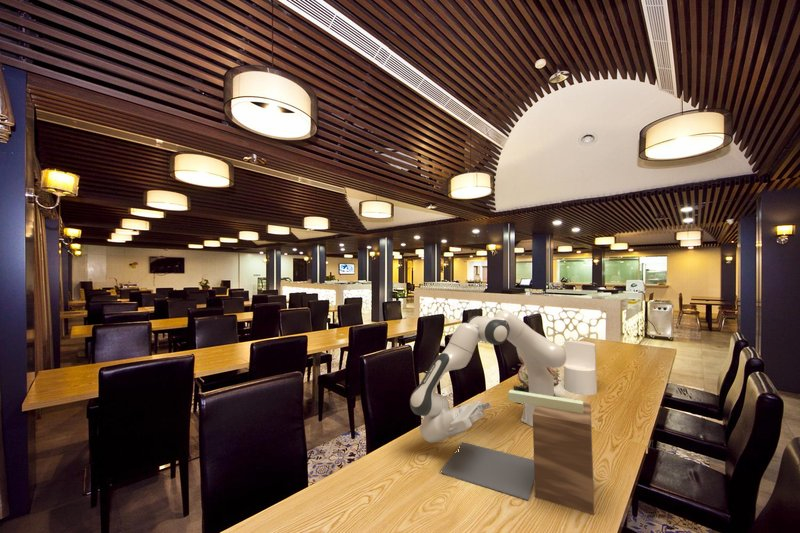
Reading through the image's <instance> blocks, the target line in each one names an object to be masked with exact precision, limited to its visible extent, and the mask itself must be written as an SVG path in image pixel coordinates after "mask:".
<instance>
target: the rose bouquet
mask: <svg viewBox="0 0 800 533" xmlns="http://www.w3.org/2000/svg"><path fill="white" fill-rule="evenodd" d="M517 357H518V360H519V362H520V363H519V364H517V365H518V366H520V368H519V370H518V372H517V380H518V381H519V382H520V383H521V384H519V385H513V389H514V390H515V391H522V392H528V391H529V383H528V374H527V370H526V367H525V364H524V362H523V360H522V358H521V357H520V356H519V354H518V353H517ZM546 368H547V370H548V371H549V372H550V373H551V375H552V376H553V379H554V388H556V387H557V386H558V385H559V383H560V382H561V380H560V379H559V378H561V376H560V375H561V374H560V373H559V372H560V370H559V369H558V368H556V367H547V366H546ZM511 369H512V370H516V368H515V367H512V368H511ZM516 403H518V402H516ZM518 404H519V403H518Z"/></svg>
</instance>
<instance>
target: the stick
mask: <svg viewBox="0 0 800 533" xmlns="http://www.w3.org/2000/svg"><path fill="white" fill-rule="evenodd" d="M507 393H508V402H513V403H517V402H518V404H519V403H523V404H529V405H535V406H541V407H547V408H552V409H558V410H564V411H570V412H575V413H581V414H583V411H584V410H583V403H584V401H583V400H579V399H578V400H577V399H572V398H567V397H559V396H555V397H554V396H547V395H541V394H534V393H528V392H522V391H515V390H513V389H509V391H508V392H507ZM523 404H522V405H523Z"/></svg>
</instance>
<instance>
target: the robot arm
mask: <svg viewBox="0 0 800 533" xmlns="http://www.w3.org/2000/svg"><path fill="white" fill-rule="evenodd" d="M506 341H508V342H509V343H511V344H512V345H513V346H514V347H515V348H516V353H517V355H518V354H519V356H520V357H521V358H522V360H523V362H524V364H525V367H526V370H527V374H528V383H529V391H528V393H534V394H541V395H547V396H554V397H556V394H555V387H554V379H553V376H552V375H551V373H550V372H549V371H548V370H547V368H546V366H547V367H555V368H557V369H558V368H561V367H564V364H565V361H566V352H565V349H564V347H562V346H560V345H558V344H556V343H554V342H553V341H551V340H550V339H548V338H546V337H545V336H543V335H542V334H540V333H538V332H537V331H535V330H534V329H533V328H531V327H530V326H529V325H528V324H526V323H525V322H524V321H523V320H522V319H521V318H520V317H518V316H517V315H515V314H513V313H512V312H510V311H508V310H506V309H505V310H504V309H503V310H499V311H498V312H496V313H495V314H494V316H493V317H490V316H482V315H473V316H472V317H469V319H468V320H467V321H466V322H462V323H460V324H458V325H457V328H456V329H455V330H454V332H453V334H452V335H451V337H450V339H449V342H448V344H447V345H446V347H445V349H444V350H442V352H441V353H440V354H439V355H437V356H436V357H435V359H434V361H433V362H432V363H431V364H430V367H429V369H428V370H427V372H426V374H425V375H424V377H423V378H422V380H421V382H420V383H419V385H418V386H417V387H416V388H415V389H414V390H413V391H412V393H411V395H410V399H409V406H410V409H411V411H412V413H413V414H414V415H417V416H422V417H423V418H422V419H423V420H422V421H421V422H422V423H421V424H420V426H419V434H420V435H421V437H422V438H423V440H425V441H426V442H428V443H430V444H431V443H437V442H441V441H444V440H446V439H447V438H449V437H455V436H457V435H459V434H462V433H464V432H466V431H467V430H469V429H471V427H472V426H473V425H474V423H475V422H477V421H478V420H479V419H482V418H483V417H484V416H485V414H484V410H487V409H489V408H491V407H492V405H491V403H490V402H489V401H487V402H484V403H483V402H482V400H476V401H472V402H470V403H466V404H464V405H463V404H460V405H458V406H456V407H455V408H452V409H450V405H449V401H448V399H447V397H446V396H445V395H442V394H440V393H437V392H435V390H436V388H437V386H439V383H440V381H441V380H442V378H443V376H444V375H445V374H446V373H448V372H450V371H455V370H461V369H463V368H465V367H467V365H468V364H469V363H470V361H471V359H472V356H473V354H474V352H475V350H476V346H477V345H478V343H480V342H483V343H487V344H491V345H496V346H497V345H498V346H499V345H502V344H504V343H505V342H506ZM519 356H518V357H519ZM522 405H523V407H522V408H523V411H522V414H521V418H520V422H521V423H525V424H527V425H529V426H530V427H531V428H533V412H534V409H535V407H536V406H535V405H529V404H522Z"/></svg>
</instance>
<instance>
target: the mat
mask: <svg viewBox="0 0 800 533" xmlns="http://www.w3.org/2000/svg"><path fill="white" fill-rule="evenodd" d="M459 446H460V448H459ZM459 446H458V447H457V448H458V449H459V452H458V450H457V449H456V450H457V452H456V453H454V452H453V453H452V455H451V456H450V458H449V459H448V460H449V461H448V460H447V461H446V463H445V464H444V465H443V466H442V468H441V469H440V471H439V473H440V472H441V471H442V472H441V473H444V474H446V475H445V476H447V475H449V476H448V477H450V476H451V477H452V478H453V477H455V478H454V479H457V480H460V481H463V482H465V483H466V482H467V483H470V484H474V485H476V486H479V487H482V488H485V489H489V490H492V491H495V492H497V493H501V494H505V495H508V496H511V497H515V498H517V499H521V500H524V501H527V502H529V501H530V496H531V493H532V489H533V485H534V484H535V477H534V459H532V458H531V459H530V458H527V457H523V456H520V455H516V454H512V453H507V452H504V451H500V450H496V449H492V448H487V447H483V446H480V445H477V444H476V445H475V444H472V443H467V442H465V441H462V442H461V443H460V444H459ZM441 473H440V474H441ZM444 474H443V475H444Z"/></svg>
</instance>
